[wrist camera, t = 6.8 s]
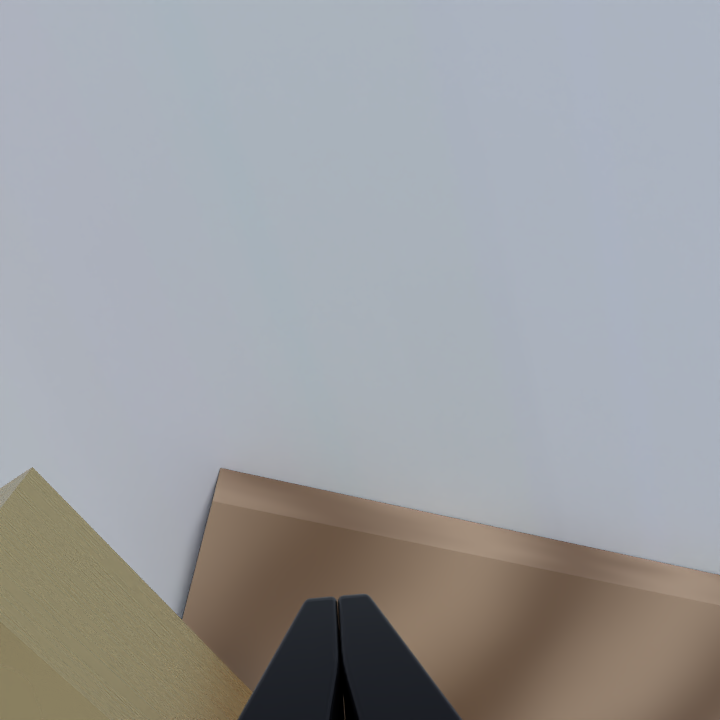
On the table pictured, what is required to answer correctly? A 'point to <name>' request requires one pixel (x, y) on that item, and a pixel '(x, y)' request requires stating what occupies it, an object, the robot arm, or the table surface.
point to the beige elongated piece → (92, 627)
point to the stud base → (462, 604)
